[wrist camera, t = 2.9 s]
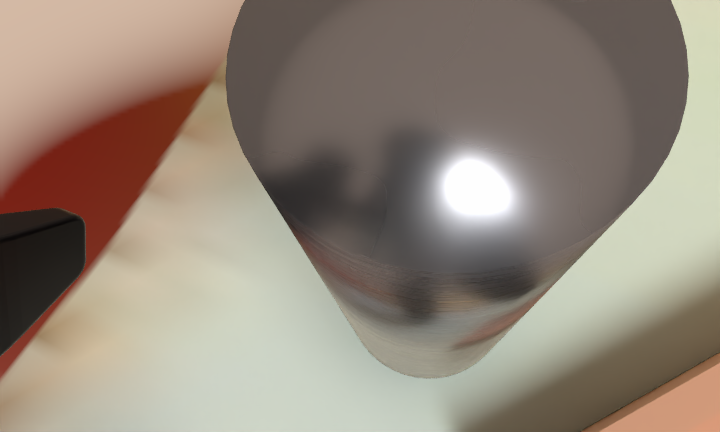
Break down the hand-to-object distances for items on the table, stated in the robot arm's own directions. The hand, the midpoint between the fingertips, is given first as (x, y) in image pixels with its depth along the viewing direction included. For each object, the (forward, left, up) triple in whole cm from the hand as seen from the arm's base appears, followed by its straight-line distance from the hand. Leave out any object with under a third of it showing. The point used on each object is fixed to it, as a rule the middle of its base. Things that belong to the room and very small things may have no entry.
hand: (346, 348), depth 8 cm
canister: (+3, +2, -10) cm, 11 cm away
